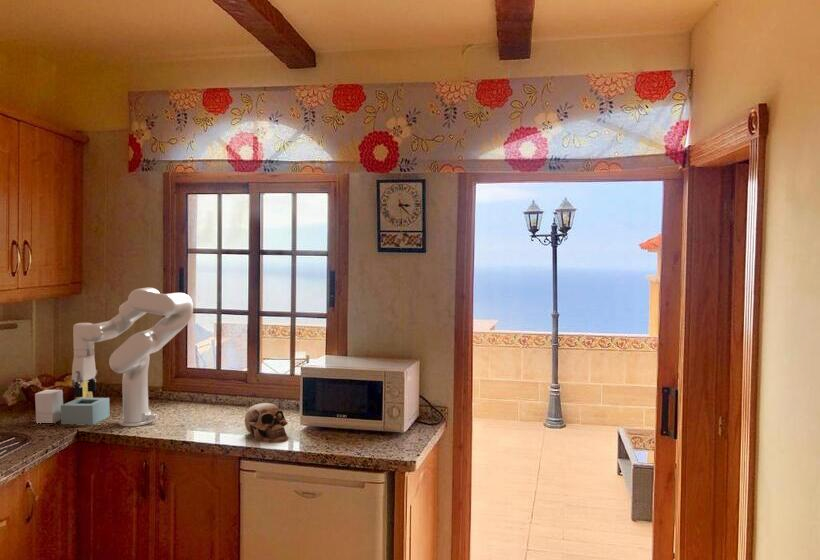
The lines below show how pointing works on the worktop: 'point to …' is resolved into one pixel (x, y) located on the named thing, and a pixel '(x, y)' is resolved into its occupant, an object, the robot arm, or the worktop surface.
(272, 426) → the brown skull
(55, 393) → the supplement box
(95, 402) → the box
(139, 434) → the worktop surface
